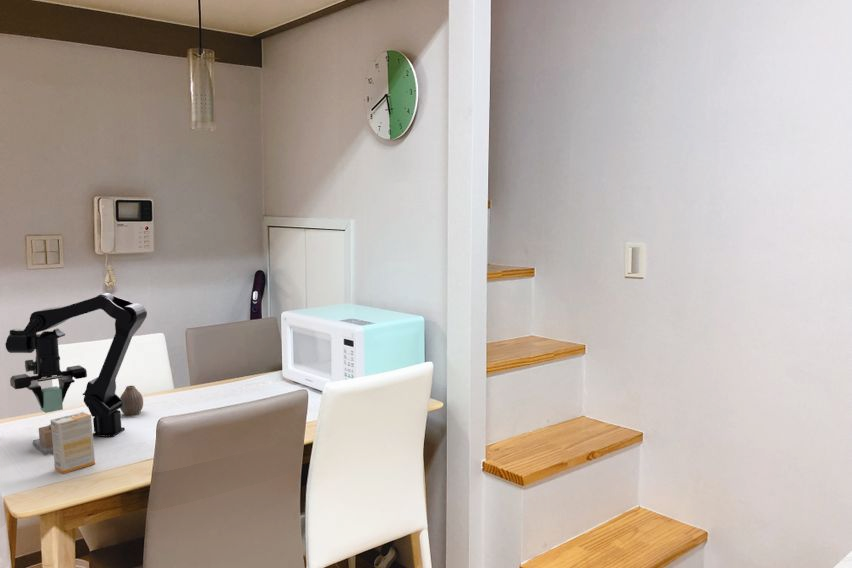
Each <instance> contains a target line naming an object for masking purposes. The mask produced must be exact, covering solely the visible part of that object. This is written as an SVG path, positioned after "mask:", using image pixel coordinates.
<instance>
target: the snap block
mask: <svg viewBox="0 0 852 568" xmlns="http://www.w3.org/2000/svg"><path fill="white" fill-rule="evenodd" d="M41 390H42V397H43V408H41V407H40V410H41V411H42V412H43V413H45V414H47V413H52V412H57V411H61V410H62V411H63V410H64V408H63V407H64V405H63V403H62V391H61V389H60V388H59V386H50V387H45V388H41Z"/></svg>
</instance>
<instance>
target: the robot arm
mask: <svg viewBox="0 0 852 568" xmlns="http://www.w3.org/2000/svg"><path fill="white" fill-rule="evenodd" d="M98 310H102V311H103V312H104V313H106V314H107V315H108V317H110V318H112V319H113V320H115V321H114V330H115V334H114V335H113V336H114V337H113V339H112V341H111V343H110V347H109V349H108V352H107V355H106V357H105V359H104V362H103V365H102V367H101V369H100V372H99V375H98V376H97V377H95V378H93V379H92V380H89V381H87V384H86V388H85V391H84V392H83V393H82V396H83V403H84V404H85V406H86V407H87V409H88V410H89V412H90V415H91V418H92V426H93V437H115V436H116V435H118V434H120V433H121V432H122V431H124V430H125V427H123V426H122V417H121V416H122V415H121V414H122V413H121V409H120V408H122V405H123V400H122V399H120V396H119V395H117V394H116V392H117V391H116V390H117V384H116V383H117V381H116V380H117V379H116V378H117V377H118V375H119V371H120V369H121V366H122V364H123V361H124V358H125V356H126V354H127V351H128V348H129V346H130V344H131V340H133V339H132V338H133V336H134V335H135V334H136V333H137V332H138V330H140V328H141V327H142V325H143V323H144V322H145V320H146V318H147V314H148V312H147V310H146V308H145V306H144V305H142V304H141V303H135V302H132V301H130V300H128V299H125V298H121V297H118V296H116V295H114V294H112V293H109V292H105V293H102V294H98V295H97V296H95V297H92V298H88V299H85V300H82V301H78V302H76V303H72V304H69V305H66V306H65V305H64V306H54V307H53V306H52V307H47V308H43V309H40V310H36V311H34V312H32V313H31V314H30V316H29V322H28V323H27V325H26V326H25V327H24V329H20V328H13V329H10V330H9V335H8V336H7V338H6V341H5V348H6V350H7V352H8V353H10V354H32V353H33V352H34V351H35V361H34V359H28V360H27V359H26V360H25V361H24V369H25V371H26V373H23V374H17V375H12V376H11V377H10V379H9V384H10V387H12V388H13V389H14V390H21V389H27V390H29V391H31V392H32V393H33V394H34V396H35V398H36V400H37V403H38V404H39V407H40V409H41V408H43V397H42V390H41V389H42V386H41V385H39V382H44V381H45V382H46V381H50V380H56V379H57V380H58V385H59V386H58V387H59V388H60V389H61V391H62V404H63V403H64V400H65V398H66V394H67V392H68V391H69V388H70V386H71V385H72V384H73V383H75V380H79V379H84V378H85V379H86V378H87V377H88V373H87V372H88V371H87V369H86V368H85V367H83V366H82V365H80V364H78V365H74V366H73V365H72V366H67V367H66V370H62V371H61V365H60V361H61V356H60V353H59V352H60V351H59V350H60V349H59V338H60V339H61V338H62V337H65V336H66V333H65V332H64V331H61V330H60V328H55V327H58V326H59V325H62V324H63V323H65V322H66V321H68V320H70V319H71V318H75V317H78V316H81V315H84V314H88V313H91V312H94V311H98ZM52 328H55V329H53V330H51V331H49V330H50V329H52ZM46 330H47V331H46ZM40 332H41V333H40ZM39 333H40V334H39ZM29 372H32V373H33V375H31V376H30V375H28V374H27V373H29Z"/></svg>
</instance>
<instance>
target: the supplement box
mask: <svg viewBox="0 0 852 568" xmlns="http://www.w3.org/2000/svg"><path fill="white" fill-rule="evenodd" d="M50 425H51V432H52V442H53V453H52V454H53V460H54V469H55V471H57V472H59V473H61V474H68V473H70V472H73V471H76V470H79V469H83V468H86V467H90V466H93V465H95V464H96V458H95V446H94V445H95V443H94V436H93V433H94V430H93V419H92V415H91V414H89V413H87V412H84V411H81V412H77V413H73V414H69V415H66V416H61V417H57V418H53V419H50Z"/></svg>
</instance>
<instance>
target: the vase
mask: <svg viewBox="0 0 852 568" xmlns="http://www.w3.org/2000/svg"><path fill="white" fill-rule="evenodd" d="M119 398H120V399H122V400H123V405H122V408H120V409H119V410H120V412H122V414H124V415H125V416H135V415H138V414H140V413H141V412H142V409H143V407H144V397H143V396H142V393H141V392H140V391H139V390H138V389H137V388H136V387H135V385H127V386H125V389H124V391H123V392H122V393H121V395H120V396H119Z"/></svg>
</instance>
